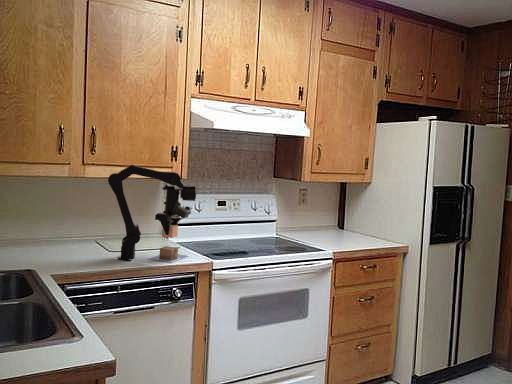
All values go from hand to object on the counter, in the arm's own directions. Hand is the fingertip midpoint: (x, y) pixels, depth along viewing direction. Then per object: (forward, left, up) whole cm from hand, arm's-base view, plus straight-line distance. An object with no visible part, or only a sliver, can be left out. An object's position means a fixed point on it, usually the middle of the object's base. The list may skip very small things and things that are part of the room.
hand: (170, 234), depth 222 cm
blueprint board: (+2, +1, -12) cm, 12 cm away
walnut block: (0, 0, -11) cm, 11 cm away
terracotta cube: (0, 0, -1) cm, 1 cm away
